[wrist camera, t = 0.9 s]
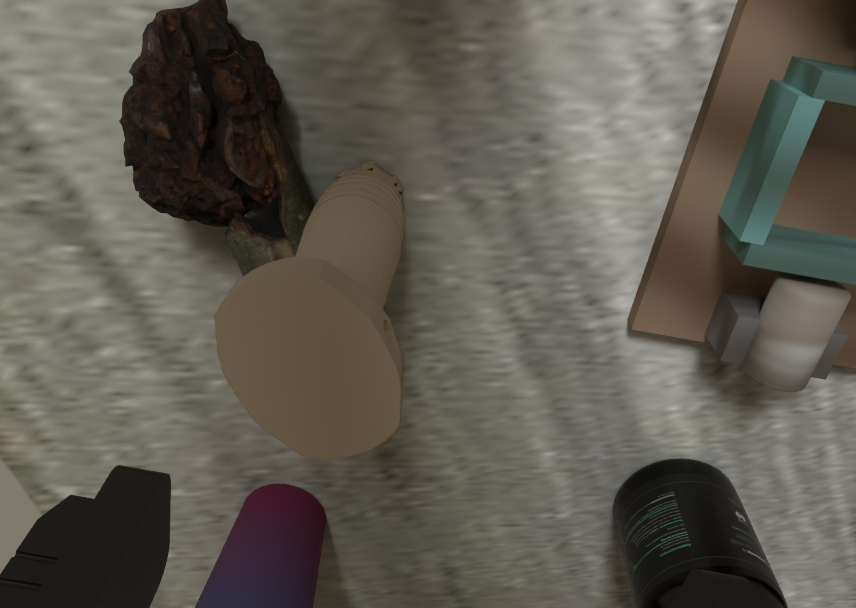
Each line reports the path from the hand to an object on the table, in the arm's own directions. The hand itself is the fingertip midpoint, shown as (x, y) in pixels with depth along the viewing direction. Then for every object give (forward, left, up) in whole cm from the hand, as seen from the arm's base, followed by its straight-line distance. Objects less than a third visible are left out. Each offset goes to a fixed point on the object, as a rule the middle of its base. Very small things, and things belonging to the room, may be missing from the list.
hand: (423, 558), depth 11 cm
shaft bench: (-2, +16, -25) cm, 29 cm away
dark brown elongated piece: (+5, -8, -25) cm, 27 cm away
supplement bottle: (+19, +16, -25) cm, 35 cm away
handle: (+4, -3, -25) cm, 25 cm away
